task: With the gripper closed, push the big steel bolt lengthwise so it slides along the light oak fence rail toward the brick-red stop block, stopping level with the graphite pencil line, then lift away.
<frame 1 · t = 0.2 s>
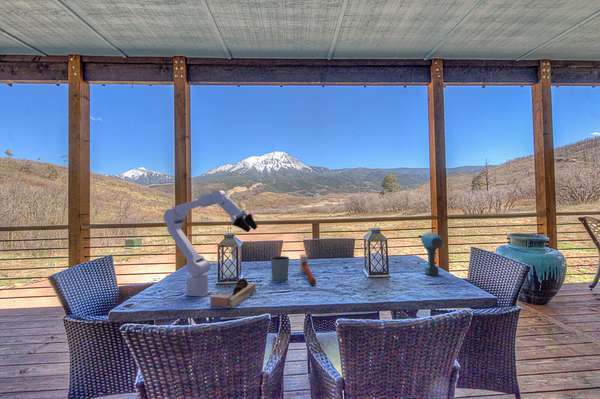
hand: (252, 229, 140), 31 cm above the table, tool tilted 45°, fingers open, 7 cm apart
power drill: (428, 272, 176), on the table
grey green pot: (280, 279, 169), on the table
pencil line: (217, 296, 142), on the table
fence rail: (243, 298, 139), on the table
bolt: (239, 293, 147), on the table
stop block: (220, 305, 130), on the table
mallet: (307, 278, 171), on the table
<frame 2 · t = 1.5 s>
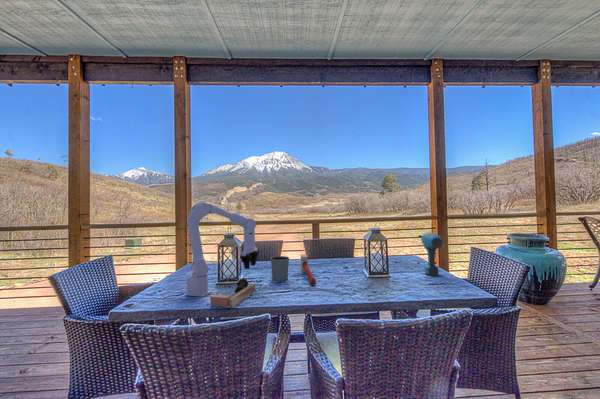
hand: (250, 267, 159), 9 cm above the table, tool pointing down, fingers open, 7 cm apart
nothing on the table moved.
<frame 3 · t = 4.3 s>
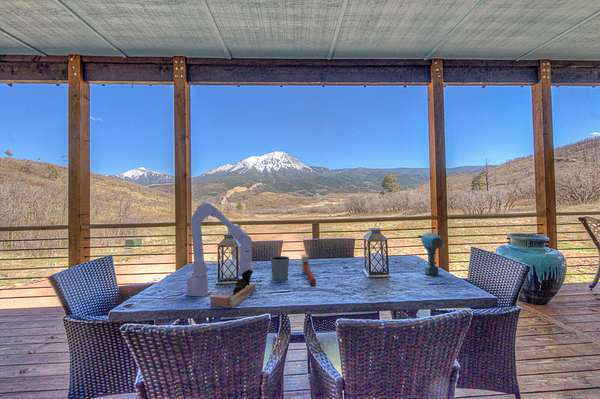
hand: (246, 285, 155), 1 cm above the table, tool pointing down, fingers closed
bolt: (239, 293, 146), on the table, touching gripper
everything else where it was.
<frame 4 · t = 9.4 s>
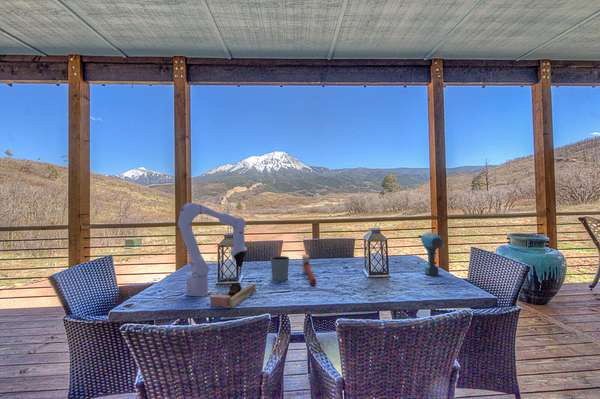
hand: (239, 266, 159), 10 cm above the table, tool pointing down, fingers closed
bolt: (233, 299, 140), on the table
everything else where it was.
at the end: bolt inside the target area (1.1 cm from its centre), on the table; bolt moved 7.4 cm from its start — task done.
